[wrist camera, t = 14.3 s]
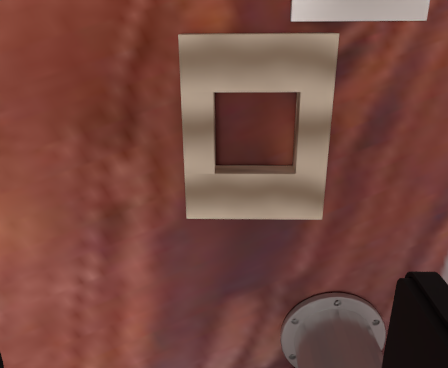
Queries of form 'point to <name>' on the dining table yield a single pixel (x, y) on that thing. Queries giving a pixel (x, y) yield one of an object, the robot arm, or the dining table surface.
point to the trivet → (359, 10)
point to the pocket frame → (257, 82)
